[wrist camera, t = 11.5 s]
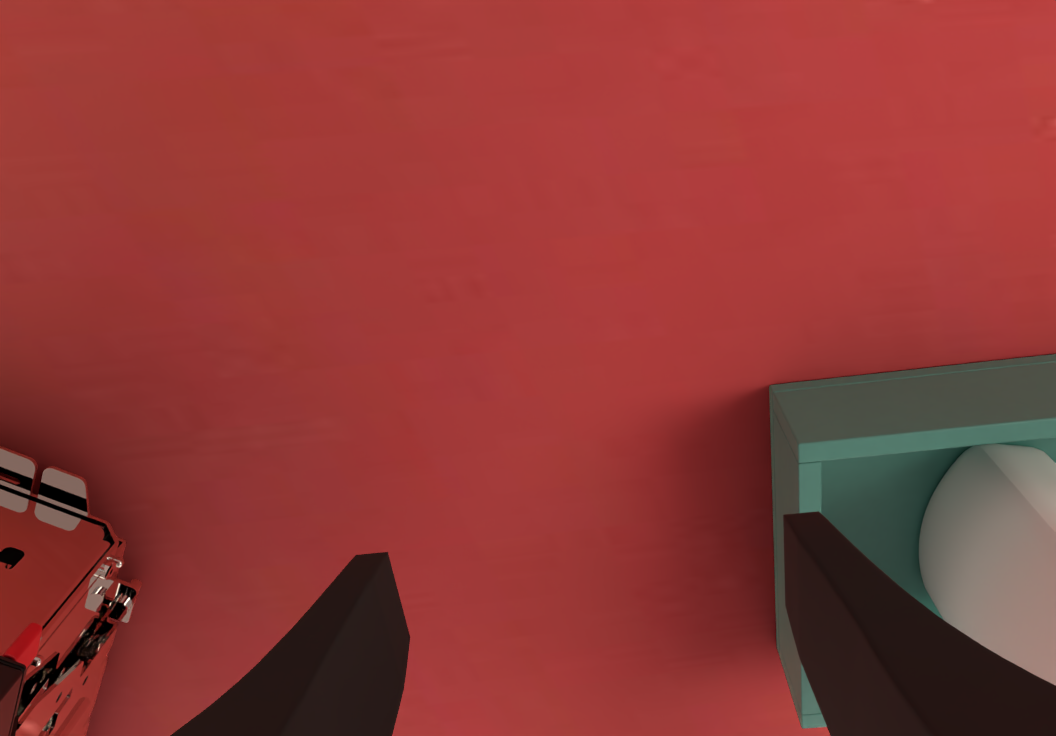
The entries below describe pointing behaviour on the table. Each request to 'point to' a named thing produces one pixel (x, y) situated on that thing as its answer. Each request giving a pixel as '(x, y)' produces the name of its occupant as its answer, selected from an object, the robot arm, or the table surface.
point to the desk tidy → (890, 461)
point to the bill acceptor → (54, 600)
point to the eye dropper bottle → (996, 552)
